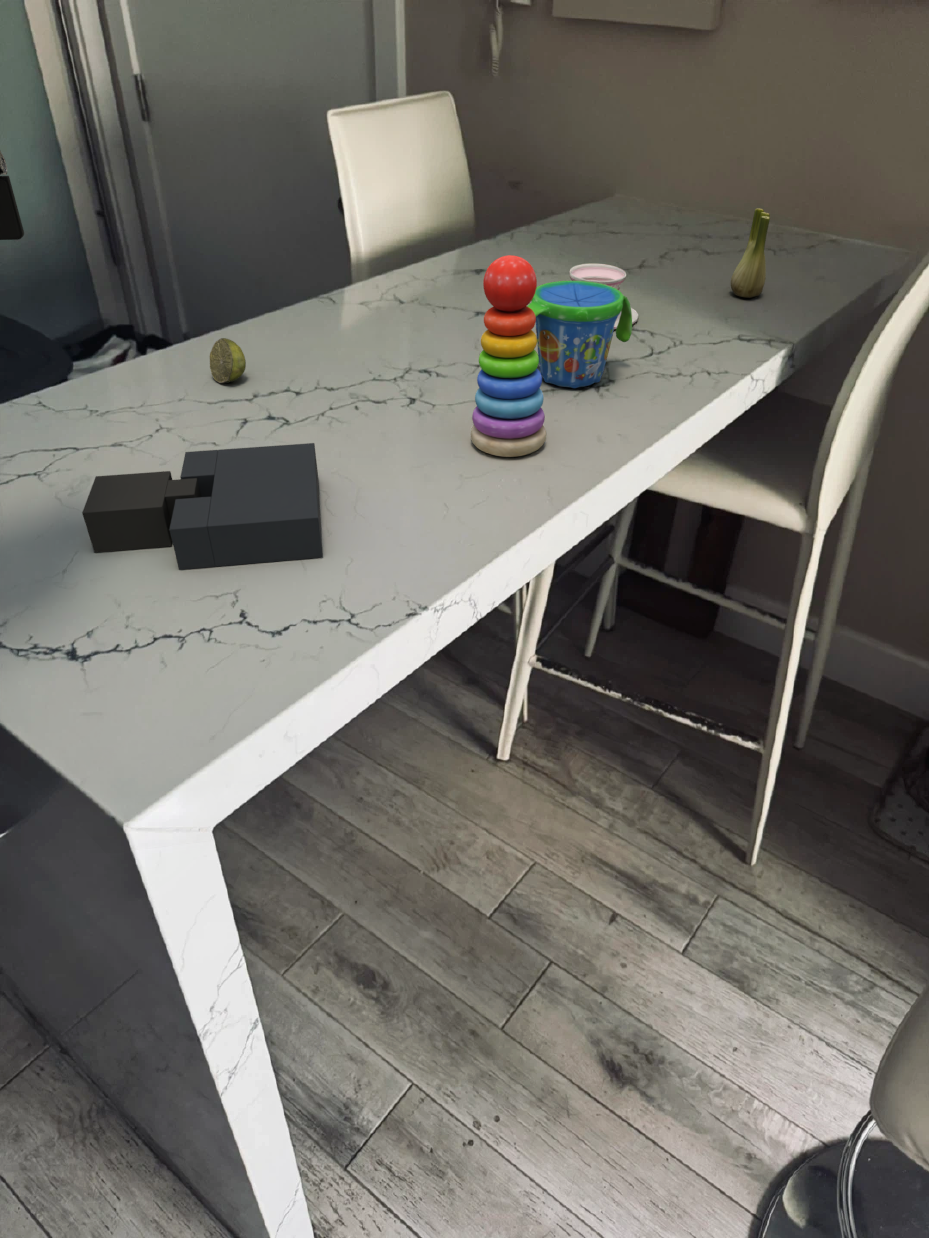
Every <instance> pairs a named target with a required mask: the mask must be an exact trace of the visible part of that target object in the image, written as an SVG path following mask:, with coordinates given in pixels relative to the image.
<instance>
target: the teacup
mask: <svg viewBox="0 0 929 1238" xmlns="http://www.w3.org/2000/svg"><path fill="white" fill-rule="evenodd" d="M568 276H569V278H570V281H587V282H595V283H600V284H604V285H608V286H611V287H613V288H616V289H617V290H619V291H620V289H621V287H620V286H621V285H622V284H623V283H624V281H625V280H626V278H627V273H626V271H625V270H624V269H622V268H620V267H618V266H614V265H612V264H611V265H610V264H604V263H582V264H576V265H574V266H572V267H571V268H570V269H569V275H568ZM631 312H632V325H634V324H635V323H636V322H638V320H639V313H638V311H637V310H636V309H634V308H633V307H631ZM620 316H621V312H620V314H619V315H618V317H617V319H616V322H615V325H614V330H616V329H617V326H618V323H619V319H620Z"/></svg>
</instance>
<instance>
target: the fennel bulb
mask: <svg viewBox="0 0 929 1238" xmlns="http://www.w3.org/2000/svg"><path fill="white" fill-rule="evenodd" d="M770 220H771V214H770V213H768V212H765V210H764V209H763V208H760V207H759V208H755V209H754V213H753V216H752V221H751V227H750V232H749V238H748V241H747V243H746V244H747V245H746V248H745V251H744V253H743V254H742V257H741V259H740V261H739V263H738V264H737V266H736V267H735V269H734V271H733V273H732V276H731V278H730V289H731V291H732V293H733V294H734V295H735V296H737V297H740V298H754V297H758V296H760V295H761V294H762V293H763V290H764V287H765V283H766V279H767V278H766V277H767V276H766V275H767V274H766V272H767V270H766V269H767V267H766V256H765V254H766V253H765V247H766V241H767V234H768V230H769V225H770Z"/></svg>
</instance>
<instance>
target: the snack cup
mask: <svg viewBox="0 0 929 1238" xmlns="http://www.w3.org/2000/svg"><path fill="white" fill-rule="evenodd" d="M527 307H529V308H530V309H532V310H533V312H534V313H535V316H536V322H535V334H536V337H537V345H536V347H537V354H538V357H539V364H538V366H539V371H540V373H541V376H542V379H543V381H544V382H545V383H548V384H552V385H555V386H556V387H557V386H558V387H563V388H572V389H578V388H583V387H584V388H585V387H587V386H591V385H593V384H594V383H596V384H597V383H600V382H601V379H602V377H603V374H604V372H605V368H606V364H607V363H606V362H607V361H608V356H609V353H610V349H611V345H612V340H613V336H614V330H615V337H616V339H618V340H619V341H620V342H622V343H627V342H629V341H630V339H631V336H632V333H633V324H632V312H631V308H632V307H631V303H630V301H629V299H628V297H627V296H625V295H624V294H623V293H622V292H621V291H620V289H619V290H617V289H616V288H613V287H611V286H608V285H604V284H600V283H595V282H587V281H572V280H559V281H558V280H557V281H551V282H546V283H544V284H541V285H537V287H536V292H535V295H534V297H533V299H532V300H531V302H530V303H529V304H528V305H527ZM620 312H621V316H620V319H619V323H618V326H617V329H614V325H615V322H616V319H617V317H618V315H619V314H620Z"/></svg>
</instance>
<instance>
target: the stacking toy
mask: <svg viewBox="0 0 929 1238" xmlns="http://www.w3.org/2000/svg"><path fill="white" fill-rule="evenodd" d="M537 279H538V278H537V275H536V271H535V270H534V267H533V266H532V264H531V263H529V261H527V260H526V259H524V258H523V257H521V256H517V255H513V254H512V255H511V254H510V255H503V256H501V257H500V256H499V257H498V258H497V259H495V260H494V261H492V262H491V263H490V265H488V267H487V268H486V270H485V273H484V276H483V279H482V280H483V282H482V286H483V293H484V295H485V297H486V299H487V301H488V302H489V304H490V305H491V307H490V308H488V309H487V310H486V311H485V313H484V316H483V324H484V326H485V328H486V330H485V331H484V332H483V333H482V334H481V337H480V345H481V348H482V351H481V352H480V353H479V356H478V364H479V365H478V366H479V367H480V370H479V372H478V374H477V377H476V382H477V386H478V389H477V390H476V392H475V395H474V402H475V405H476V406H475V408H474V409H473V411H472V414H471V416H472V417H471V418H472V424H473V425H472V427H471V430H470V439H471V442H472V443H473V445H474V446H475V447H476V448H477V449H478V450H480V451H482V452H483V453H485V454H489V455H492V456H496V457H504V458H514V457H522V456H526V455H530V454H532V453H534V452H536V451H538V450H539V449H541V448H542V447H543V445H544V444H545V442H546V439H547V430H546V427H545V426H544V424H545V421H546V420H545V419H546V418H545V416H546V415H545V412H544V409H543V408H542V406H543V404H544V393H543V391H542V389H541V386H542V382H543V377H542V376H541V373H540V369H538V366H539V357H538V351H536V347H537V334H536V332H535V331H534V330H533V328H534V327H535V326H536V316H535V313H534V312H533V310H532V309H530V308H529V307H527V306H528V305H529V304H530V303H531V302H532V301H531V300H532V299H533V297H534V295H535V292H536V287H538V285H537V284H538V281H537Z"/></svg>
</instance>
